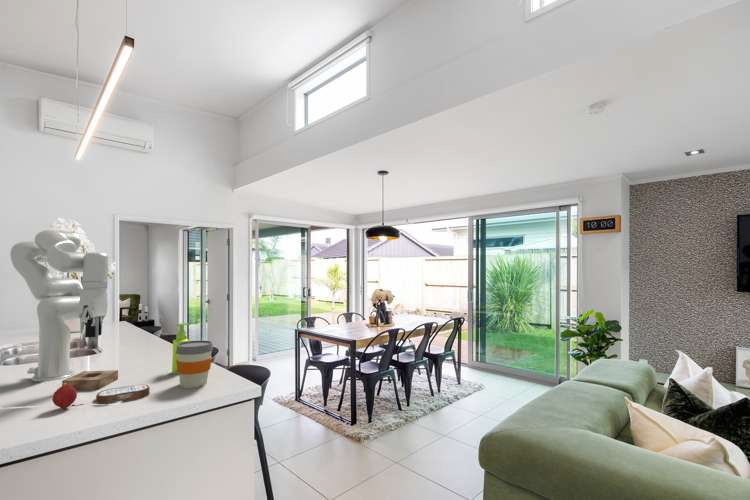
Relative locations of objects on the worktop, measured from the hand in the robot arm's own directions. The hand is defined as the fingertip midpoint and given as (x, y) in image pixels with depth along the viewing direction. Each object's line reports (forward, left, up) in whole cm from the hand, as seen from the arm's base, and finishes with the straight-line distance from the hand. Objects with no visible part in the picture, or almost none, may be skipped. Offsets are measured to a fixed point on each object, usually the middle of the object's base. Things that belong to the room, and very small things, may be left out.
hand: (93, 335), depth 139 cm
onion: (+5, -22, -19) cm, 30 cm away
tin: (+16, -10, -17) cm, 25 cm away
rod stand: (0, 0, -18) cm, 18 cm away
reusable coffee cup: (+36, -1, -19) cm, 40 cm away
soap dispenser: (+25, +17, -19) cm, 35 cm away
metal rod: (0, 0, -5) cm, 5 cm away
